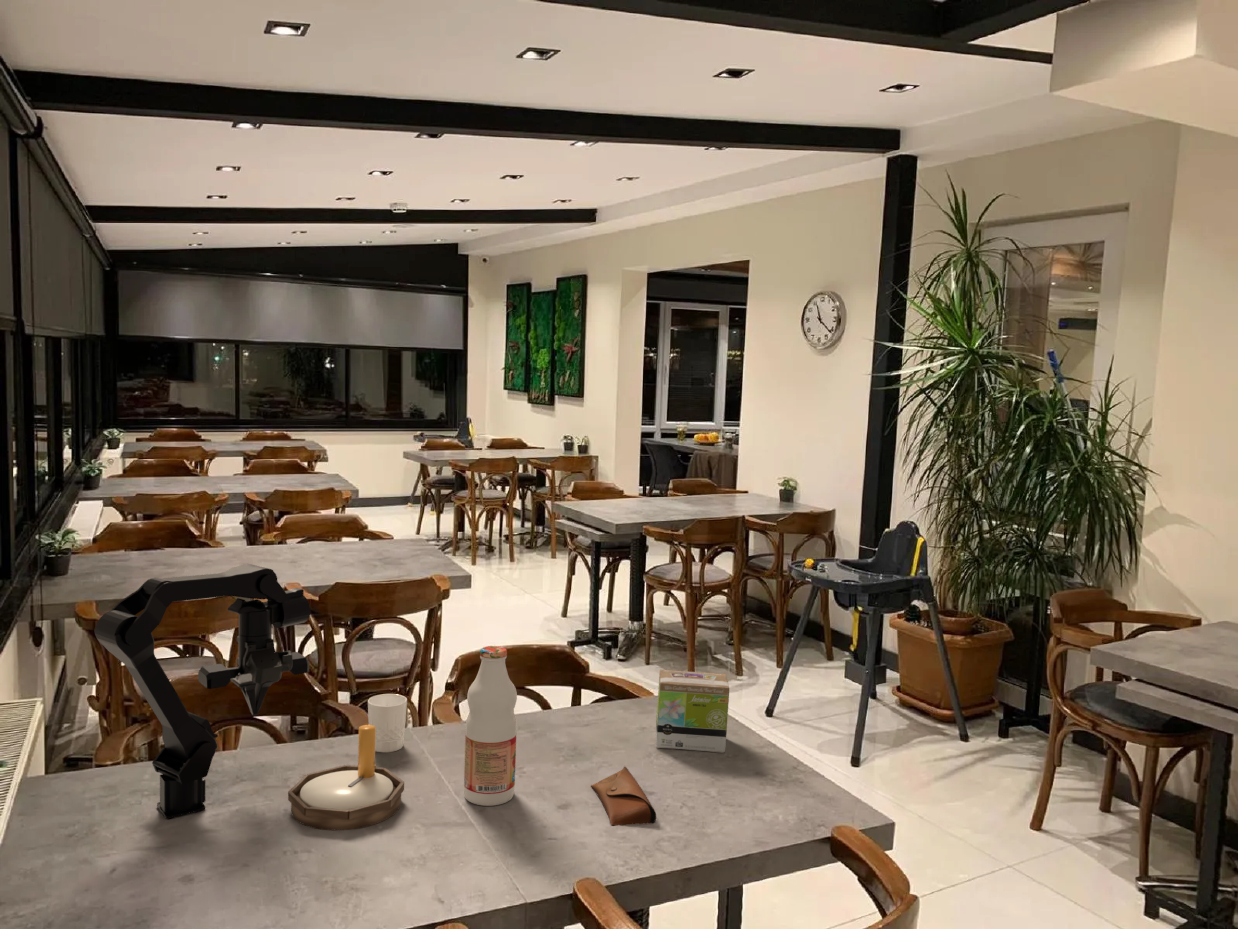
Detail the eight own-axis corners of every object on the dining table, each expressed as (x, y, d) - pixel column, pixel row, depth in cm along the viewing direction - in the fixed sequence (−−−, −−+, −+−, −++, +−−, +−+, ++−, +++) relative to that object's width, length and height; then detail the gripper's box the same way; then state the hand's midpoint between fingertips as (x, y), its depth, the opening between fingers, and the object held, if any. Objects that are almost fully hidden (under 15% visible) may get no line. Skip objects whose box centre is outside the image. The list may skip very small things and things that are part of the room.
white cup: (400, 755, 195) (401, 707, 194) (362, 753, 196) (363, 705, 195) (409, 740, 203) (410, 694, 202) (373, 738, 203) (373, 692, 202)
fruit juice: (453, 794, 178) (457, 647, 176) (493, 781, 185) (498, 639, 182) (484, 812, 171) (489, 659, 169) (524, 797, 178) (529, 650, 176)
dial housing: (316, 841, 158) (316, 819, 158) (274, 799, 173) (275, 779, 173) (419, 811, 171) (420, 791, 170) (372, 774, 185) (373, 756, 185)
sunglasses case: (586, 784, 185) (604, 754, 185) (616, 799, 187) (634, 770, 187) (611, 827, 168) (631, 794, 168) (643, 843, 170) (662, 810, 170)
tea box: (655, 750, 204) (658, 682, 202) (655, 732, 214) (658, 668, 212) (726, 754, 203) (729, 686, 202) (722, 736, 213) (726, 671, 212)
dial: (284, 808, 165) (284, 753, 164) (323, 771, 180) (323, 720, 180) (373, 817, 163) (374, 761, 162) (405, 778, 179) (406, 727, 178)
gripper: (216, 651, 165) (216, 738, 167) (321, 635, 177) (320, 717, 179) (197, 636, 174) (197, 719, 175) (298, 622, 186) (297, 700, 187)
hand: (254, 714), depth 179 cm, fingers closed
